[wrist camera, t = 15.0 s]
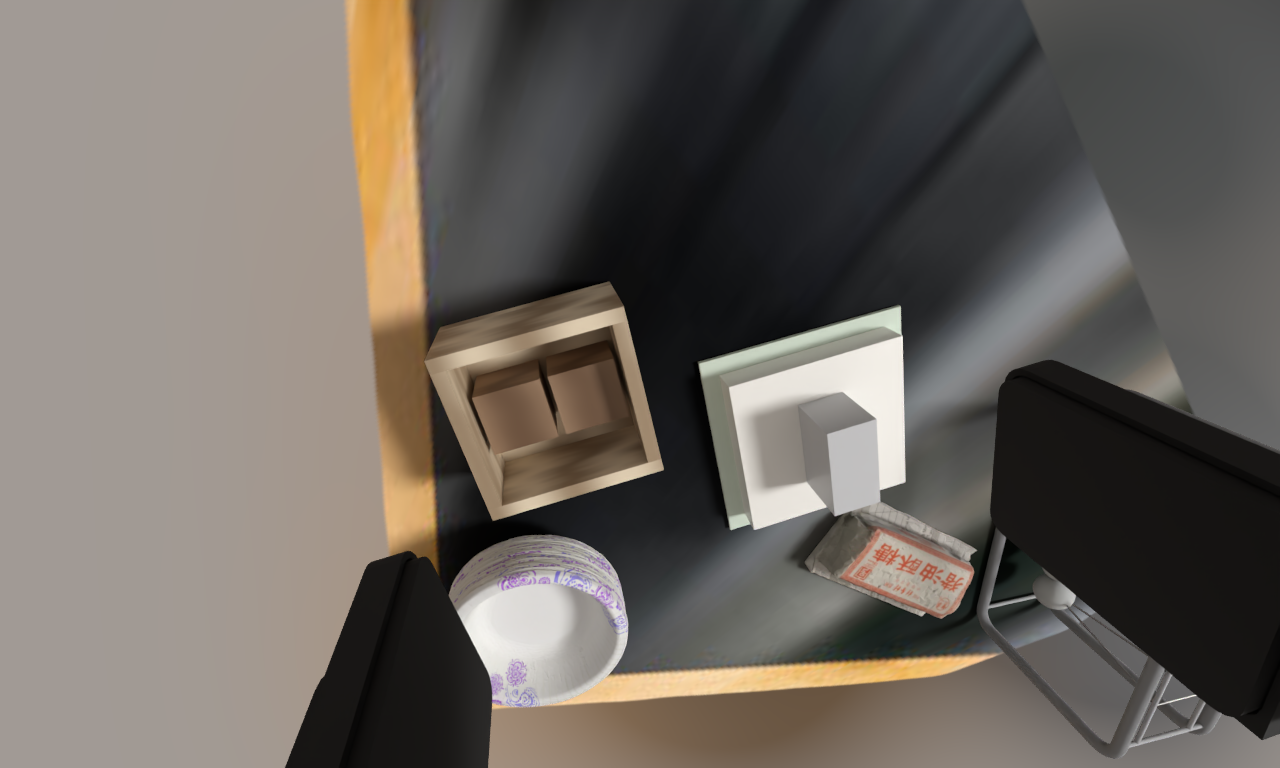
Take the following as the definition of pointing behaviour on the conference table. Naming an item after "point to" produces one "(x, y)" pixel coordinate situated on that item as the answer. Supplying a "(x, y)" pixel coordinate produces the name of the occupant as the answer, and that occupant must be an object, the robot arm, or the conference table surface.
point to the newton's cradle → (1145, 685)
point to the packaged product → (895, 560)
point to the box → (546, 399)
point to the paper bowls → (542, 617)
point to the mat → (761, 354)
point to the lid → (818, 427)
